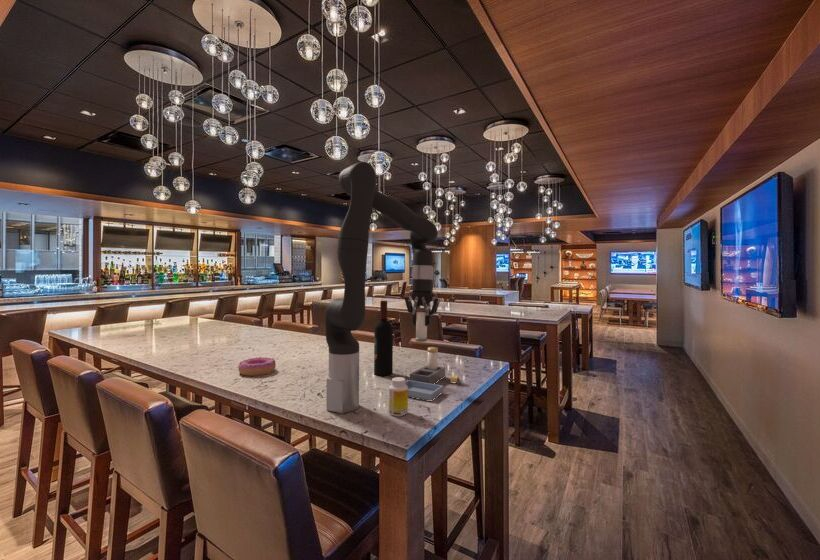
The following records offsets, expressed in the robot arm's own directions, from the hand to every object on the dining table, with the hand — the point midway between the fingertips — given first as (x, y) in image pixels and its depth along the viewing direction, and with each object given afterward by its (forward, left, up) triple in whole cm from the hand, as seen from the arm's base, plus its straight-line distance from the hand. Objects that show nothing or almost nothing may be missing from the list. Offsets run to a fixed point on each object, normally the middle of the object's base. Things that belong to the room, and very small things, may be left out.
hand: (421, 325), depth 131 cm
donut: (-16, +68, -23) cm, 73 cm away
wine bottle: (+7, +21, -23) cm, 32 cm away
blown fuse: (0, 0, -6) cm, 6 cm away
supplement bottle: (-26, -5, -23) cm, 35 cm away
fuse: (+12, +1, -23) cm, 26 cm away
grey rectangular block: (+8, +1, -23) cm, 24 cm away
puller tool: (+13, -8, -23) cm, 27 cm away
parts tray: (-7, -3, -23) cm, 24 cm away
